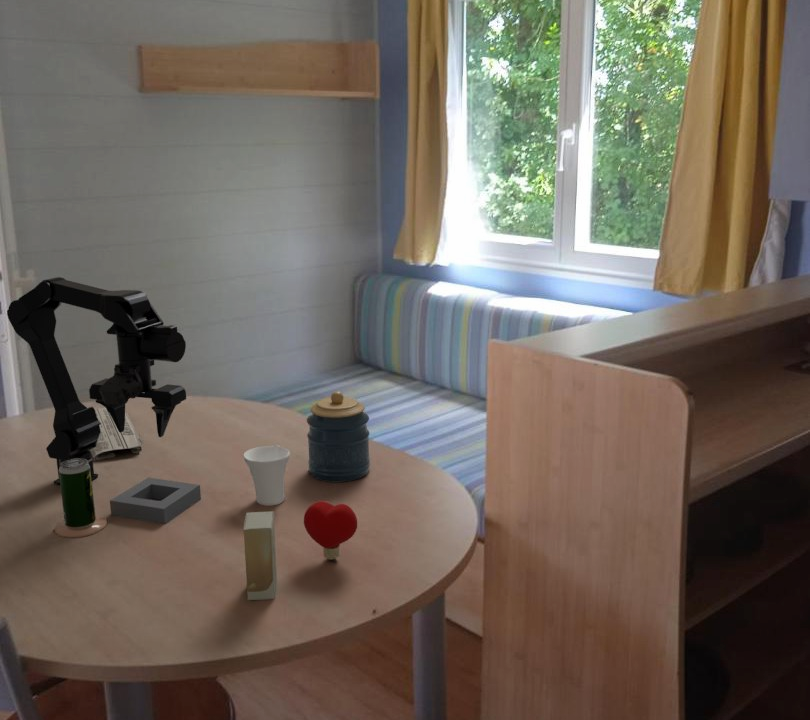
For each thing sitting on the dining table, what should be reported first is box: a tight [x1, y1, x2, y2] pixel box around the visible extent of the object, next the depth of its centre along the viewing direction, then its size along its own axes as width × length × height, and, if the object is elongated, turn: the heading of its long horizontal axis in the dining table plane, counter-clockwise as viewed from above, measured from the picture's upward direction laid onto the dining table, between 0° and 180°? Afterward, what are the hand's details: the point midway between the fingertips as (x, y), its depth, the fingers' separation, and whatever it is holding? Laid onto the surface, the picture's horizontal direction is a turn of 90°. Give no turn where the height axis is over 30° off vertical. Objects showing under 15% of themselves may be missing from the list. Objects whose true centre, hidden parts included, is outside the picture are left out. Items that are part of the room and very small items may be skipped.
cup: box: [242, 444, 291, 507], centre depth 173 cm, size 9×9×10 cm
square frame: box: [109, 477, 202, 525], centre depth 171 cm, size 12×12×3 cm
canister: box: [306, 390, 371, 483], centre depth 186 cm, size 13×13×18 cm
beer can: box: [58, 458, 96, 530], centre depth 162 cm, size 5×5×12 cm
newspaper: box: [89, 407, 145, 461], centre depth 212 cm, size 35×12×4 cm, turn 27°
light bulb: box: [303, 500, 358, 561], centre depth 149 cm, size 9×7×10 cm
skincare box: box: [243, 510, 278, 601], centre depth 138 cm, size 6×4×12 cm
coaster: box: [54, 514, 108, 539], centre depth 163 cm, size 9×9×1 cm
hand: (141, 434), depth 175 cm, fingers open, 9 cm apart
